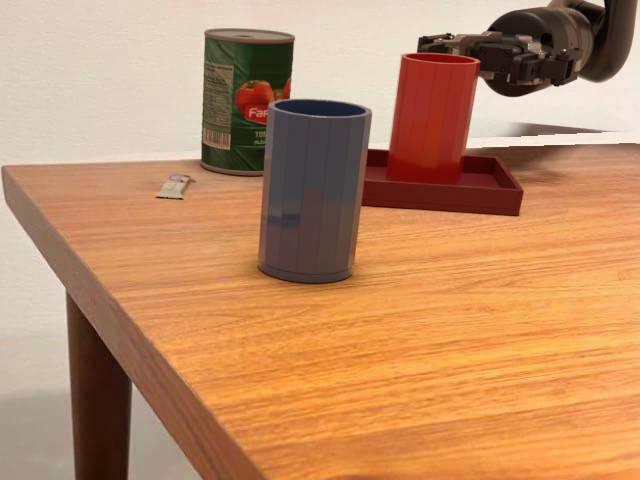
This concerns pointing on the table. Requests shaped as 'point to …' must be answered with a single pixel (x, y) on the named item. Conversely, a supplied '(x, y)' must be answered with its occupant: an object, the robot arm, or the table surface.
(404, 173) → the red cup
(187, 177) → the granola bar
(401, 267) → the table surface
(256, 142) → the canned tomato
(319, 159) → the blue cup
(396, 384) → the table surface
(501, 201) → the red tray
